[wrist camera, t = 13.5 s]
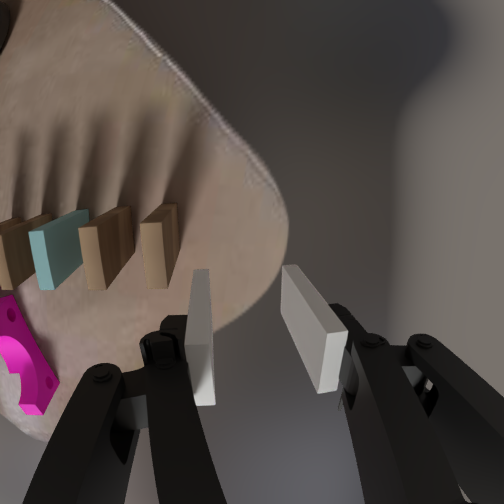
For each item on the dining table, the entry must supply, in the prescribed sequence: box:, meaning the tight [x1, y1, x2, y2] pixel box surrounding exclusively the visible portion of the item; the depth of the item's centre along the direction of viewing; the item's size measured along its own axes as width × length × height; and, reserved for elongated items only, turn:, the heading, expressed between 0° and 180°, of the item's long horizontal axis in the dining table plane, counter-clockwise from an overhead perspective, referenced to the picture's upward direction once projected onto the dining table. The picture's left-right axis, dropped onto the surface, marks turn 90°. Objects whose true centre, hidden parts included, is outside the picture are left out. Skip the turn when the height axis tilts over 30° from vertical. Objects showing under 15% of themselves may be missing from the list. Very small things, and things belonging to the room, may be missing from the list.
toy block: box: [0, 294, 60, 415], centre depth 29 cm, size 15×6×8 cm, turn 12°
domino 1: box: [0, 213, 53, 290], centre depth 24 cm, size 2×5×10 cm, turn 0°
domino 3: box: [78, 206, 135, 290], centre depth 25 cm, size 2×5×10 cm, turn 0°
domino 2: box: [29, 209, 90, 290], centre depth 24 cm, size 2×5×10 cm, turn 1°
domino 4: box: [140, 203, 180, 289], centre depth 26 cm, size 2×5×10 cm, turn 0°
